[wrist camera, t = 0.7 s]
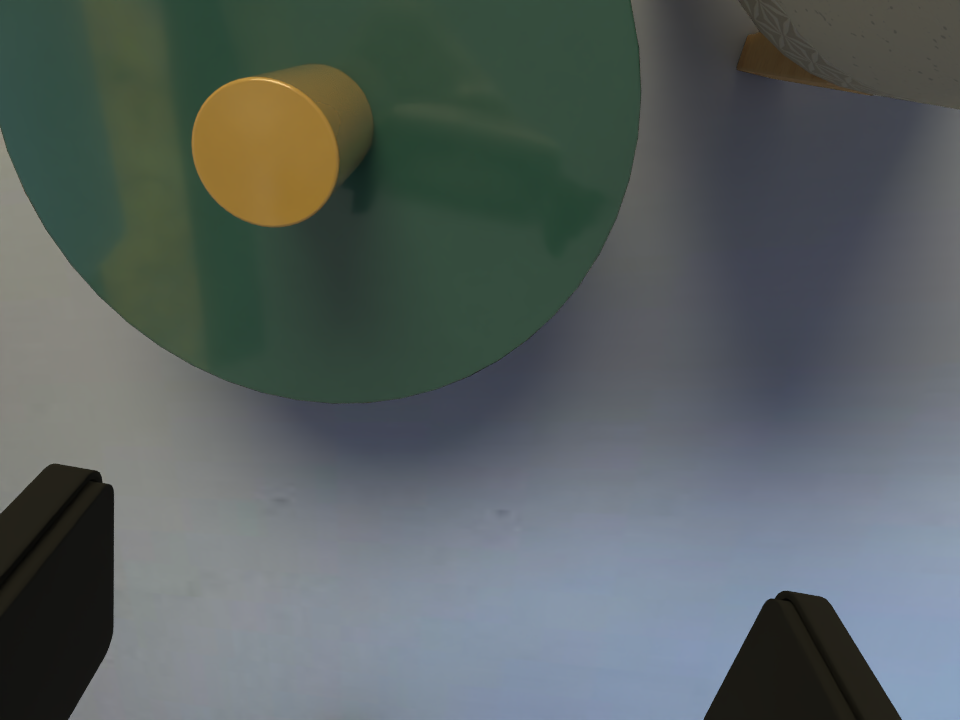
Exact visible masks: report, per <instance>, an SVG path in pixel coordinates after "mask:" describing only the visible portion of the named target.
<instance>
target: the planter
mask: <svg viewBox="0 0 960 720" xmlns="http://www.w3.org/2000/svg"><path fill="white" fill-rule="evenodd" d="M739 2H740V4H741V5H742V7H743V8H744V9H745V11H746V12H747V14H748V15H749V17H750V18H751V19H752V21H753V22H754V24H755V25H756V27H757V28H758V29H759V31H760V32H758V33H755V34H749V35H748V36H747V39H746V42H745V45H744V48H743V51H742V53H741V56H740V59H739V62H738V65H737V70H739V71H743V72H748V73H752V74H756V75H760V76H764V77H768V78H772V79H778V80H784V81H789V82H795V83H801V84H807V85H812V86H818V87H824V88H830V89H835V90H841V91H847V92H853V93H858V94H864V95H870V96H873V95H877V96H883V97H889V98H895V99H901V100H907V101H912V102H918V103H924V104H930V105H936V106H942V107H948V108H953V109H959V110H960V0H739Z"/></svg>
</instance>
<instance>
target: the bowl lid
mask: <svg viewBox="0 0 960 720" xmlns="http://www.w3.org/2000/svg"><path fill="white" fill-rule="evenodd" d="M640 104H641V78H640V58H639V45H638V39H637V34H636V28H635V22H634V16H633V11H632V5H631V0H0V128H1V131H2V134H3V138H4V141H5V145H6V148H7V151H8V153H9V156H10V158H11V161H12V163H13V165H14V168H15V170H16V172H17V175H18V177H19V179H20V182H21V184H22V187H23V189H24V191H25V193H26V195H27V197H28V198H29V200H30V202H31V204H32V206H33V207H34V209H35V211H36V213H37V215H38V216H39V218H40V220H41V222H42V223H43V225H44V227H45V229H46V230H47V232H48V233H49V235H50V236H51V237H52V239H53V240H54V242H55V243H56V244H57V246H58V247H59V249H60V250H61V251H62V253H63V254H64V256H65V257H66V258H67V260H68V261H69V263H70V264H71V265H72V266H73V268H74V269H75V270H76V271H77V272H78V273H79V274H80V275H81V277H82V278H83V279H84V280H85V281H86V282H87V283H88V284H89V286H90V287H91V288H92V289H93V290H94V291H95V292H96V294H97V295H98V296H99V297H100V298H102V299H103V300H104V301H105V302H106V303H107V304H108V305H109V306H110V307H111V308H112V309H114V310H115V311H116V312H117V313H118V314H119V315H120V316H121V317H122V318H123V319H124V320H126V321H127V322H128V323H129V324H130V325H132V326H133V327H134V328H136V329H137V330H139V331H140V332H141V333H143V334H144V335H145V336H147V337H148V338H149V339H151V340H152V341H153V342H155V343H156V344H157V345H159V346H160V347H162V348H164V349H165V350H167V351H169V352H170V353H172V354H174V355H176V356H177V357H179V358H181V359H182V360H184V361H186V362H188V363H189V364H191V365H193V366H195V367H197V368H199V369H201V370H204V371H206V372H208V373H210V374H212V375H215V376H217V377H219V378H221V379H223V380H226V381H228V382H231V383H234V384H237V385H240V386H243V387H246V388H249V389H252V390H256V391H259V392H262V393H266V394H271V395H276V396H280V397H285V398H290V399H295V400H301V401H312V402H322V403H332V404H335V403H371V402H378V401H386V400H393V399H400V398H405V397H409V396H413V395H417V394H421V393H425V392H428V391H432V390H436V389H439V388H441V387H444V386H446V385H449V384H451V383H454V382H456V381H459V380H462V379H464V378H467V377H469V376H471V375H473V374H474V373H476V372H478V371H480V370H482V369H484V368H486V367H487V366H489V365H491V364H493V363H495V362H497V361H498V360H500V359H501V358H503V357H504V356H506V355H507V354H508V353H510V352H511V351H513V350H514V349H515V348H517V347H518V346H520V345H521V344H522V343H524V342H525V341H527V340H528V339H529V338H530V337H531V336H532V335H534V334H535V333H536V332H537V331H538V330H539V329H540V328H541V327H542V326H543V325H544V324H545V323H546V322H548V321H549V320H550V319H551V318H552V317H553V316H554V315H555V314H556V313H557V312H558V310H559V309H560V308H561V307H562V306H563V304H564V303H565V302H566V301H567V300H568V299H569V297H570V296H571V295H572V294H573V293H574V291H575V290H576V289H577V288H578V287H579V285H580V284H581V282H582V281H583V279H584V277H585V276H586V274H587V273H588V271H589V270H590V268H591V267H592V265H593V264H594V262H595V260H596V259H597V257H598V256H599V254H600V252H601V250H602V248H603V246H604V244H605V242H606V240H607V238H608V235H609V233H610V231H611V229H612V227H613V225H614V223H615V221H616V219H617V216H618V213H619V210H620V207H621V204H622V201H623V198H624V195H625V192H626V189H627V186H628V183H629V180H630V175H631V170H632V165H633V160H634V155H635V150H636V145H637V140H638V131H639V118H640Z"/></svg>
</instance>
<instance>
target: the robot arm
mask: <svg viewBox="0 0 960 720" xmlns="http://www.w3.org/2000/svg"><path fill="white" fill-rule="evenodd" d="M113 609H114V490H113V487H112V485H110V484H105V483H102V477H101V475H100V472H98V471H95V470H89V469H83V468H78V467H72V466H66V465H60V464H51V465H49V466H47V467H46V468H45V469H44V470H43V471H42V472H41V473H40V474H39V475H38V476H37V477H36V478H35V479H34V480H33V481H32V482H31V483H30V484H29V485H28V486H27V487H26V488H25V489H24V490H23V491H22V492H21V494H20V495H19V496H18V497H17V498H16V499H15V500H14V501H13V502H12V503H11V504H10V505H9V506H8V507H7V508H6V509H5V510H4V511H3V512H2V513H1V514H0V720H68V719H69V717H70V715H71V714H72V712H73V710H74V709H75V707H76V705H77V703H78V702H79V700H80V698H81V697H82V695H83V693H84V691H85V690H86V688H87V686H88V685H89V683H90V681H91V679H92V678H93V676H94V674H95V673H96V671H97V669H98V667H99V666H100V664H101V662H102V661H103V659H104V657H105V655H106V653H107V651H108V648H109V646H110V642H111V639H112V635H113ZM704 720H902V719H901V717H900V716H899V714H898V713H897V711H896V709H895V708H894V706H893V704H892V703H891V701H890V700H889V698H888V696H887V695H886V693H885V691H884V690H883V688H882V687H881V685H880V683H879V682H878V680H877V678H876V677H875V675H874V674H873V672H872V670H871V669H870V667H869V665H868V664H867V662H866V661H865V659H864V657H863V656H862V654H861V652H860V651H859V649H858V648H857V646H856V644H855V643H854V641H853V640H852V638H851V636H850V635H849V633H848V631H847V630H846V628H845V627H844V625H843V623H842V622H841V620H840V618H839V617H838V615H837V614H836V612H835V610H834V609H833V607H832V605H831V604H830V603H829V602H828V601H827V600H826V599H825V598H823V597H820V596H814V595H808V594H803V593H797V592H791V591H782V592H780V593H779V594H778V595H777V596H776V597H775V599H769V600H767V601H766V602H765V604H764V605H763V607H762V609H761V611H760V613H759V615H758V616H757V618H756V620H755V622H754V624H753V626H752V628H751V630H750V632H749V634H748V636H747V637H746V639H745V641H744V643H743V645H742V647H741V649H740V651H739V653H738V655H737V656H736V658H735V660H734V662H733V664H732V666H731V668H730V670H729V672H728V674H727V675H726V677H725V679H724V681H723V683H722V685H721V687H720V689H719V691H718V693H717V694H716V696H715V698H714V700H713V702H712V704H711V706H710V708H709V710H708V712H707V714H706V715H705V717H704Z"/></svg>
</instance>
